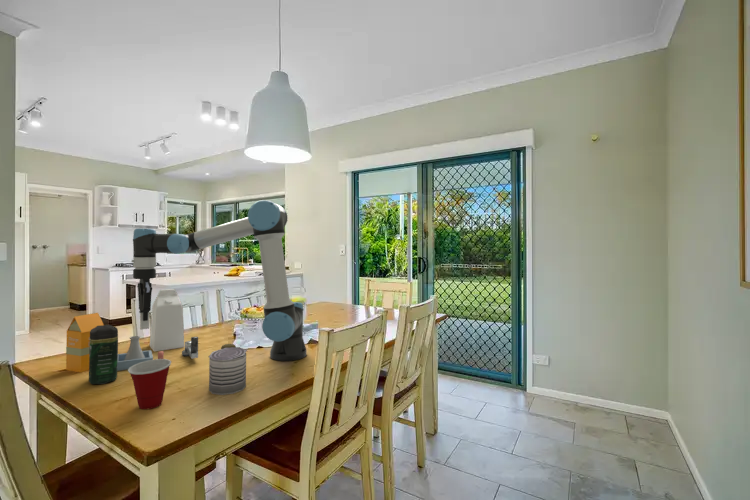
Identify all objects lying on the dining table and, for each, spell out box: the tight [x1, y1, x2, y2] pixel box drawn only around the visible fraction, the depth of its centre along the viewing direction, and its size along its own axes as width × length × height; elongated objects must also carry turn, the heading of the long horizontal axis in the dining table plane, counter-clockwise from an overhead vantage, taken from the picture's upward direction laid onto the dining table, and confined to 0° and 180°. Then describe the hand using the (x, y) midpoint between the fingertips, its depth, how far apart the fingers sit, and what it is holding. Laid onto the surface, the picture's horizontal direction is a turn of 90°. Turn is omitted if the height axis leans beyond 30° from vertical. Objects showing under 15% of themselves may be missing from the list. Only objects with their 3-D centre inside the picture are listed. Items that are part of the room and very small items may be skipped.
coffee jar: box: [88, 324, 119, 385], centre depth 126 cm, size 10×8×19 cm
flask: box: [124, 335, 145, 361], centre depth 144 cm, size 7×7×10 cm
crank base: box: [181, 349, 190, 357], centre depth 157 cm, size 6×6×2 cm
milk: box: [149, 288, 185, 352], centre depth 169 cm, size 12×12×26 cm
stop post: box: [157, 350, 165, 359], centre depth 147 cm, size 2×2×4 cm
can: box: [208, 346, 248, 396], centre depth 121 cm, size 11×11×12 cm
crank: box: [184, 336, 199, 360], centre depth 153 cm, size 15×4×8 cm, turn 34°
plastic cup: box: [127, 358, 172, 410], centre depth 107 cm, size 11×11×12 cm
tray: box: [117, 349, 154, 372], centre depth 144 cm, size 12×12×3 cm
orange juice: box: [65, 312, 105, 373], centre depth 138 cm, size 8×9×20 cm
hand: (144, 328), depth 144 cm, fingers closed
